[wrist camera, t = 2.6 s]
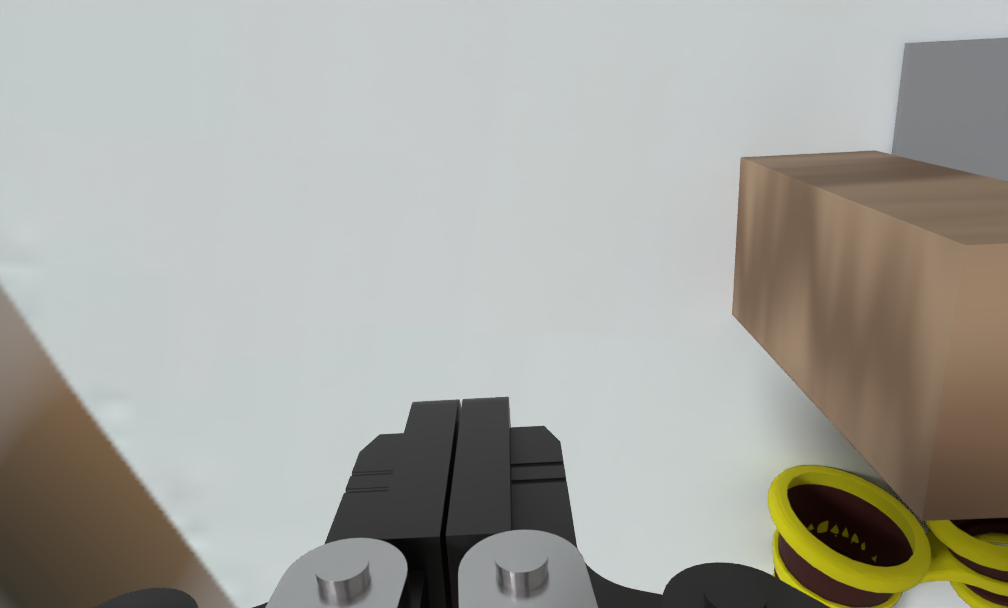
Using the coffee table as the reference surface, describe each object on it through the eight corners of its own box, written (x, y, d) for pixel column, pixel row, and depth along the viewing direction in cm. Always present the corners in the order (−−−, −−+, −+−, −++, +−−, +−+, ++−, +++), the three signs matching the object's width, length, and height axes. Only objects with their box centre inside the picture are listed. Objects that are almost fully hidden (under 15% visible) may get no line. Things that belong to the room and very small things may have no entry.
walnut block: (740, 157, 21) (966, 244, 11) (874, 150, 21) (1229, 232, 11) (732, 314, 23) (921, 521, 13) (856, 308, 23) (1151, 511, 13)
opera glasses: (747, 559, 27) (799, 685, 23) (746, 456, 25) (805, 576, 20) (1008, 521, 27) (1111, 642, 22) (1035, 411, 24) (1158, 523, 20)
